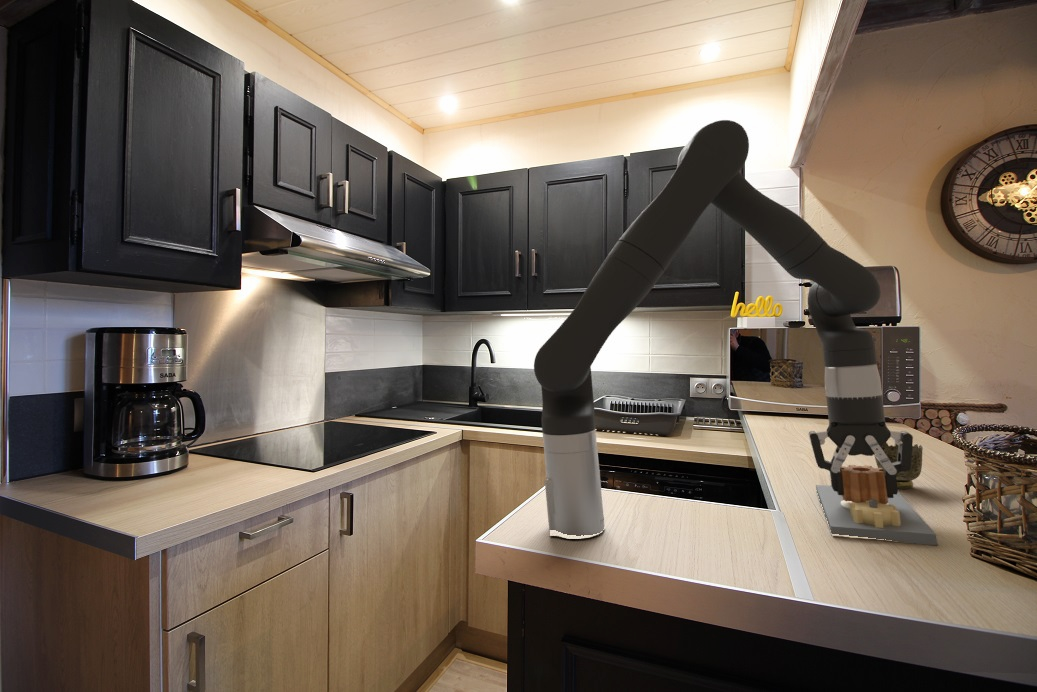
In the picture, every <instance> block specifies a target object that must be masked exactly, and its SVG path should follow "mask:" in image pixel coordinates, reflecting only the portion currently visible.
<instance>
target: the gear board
mask: <svg viewBox="0 0 1037 692" xmlns="http://www.w3.org/2000/svg"><path fill="white" fill-rule="evenodd" d="M815 490H817V491H816V494H817V493H818V495H817V497H818V496H819V498H818V500H819V499H820V501H819V503H820V502H821V504H822V507H823V510H824V512H823V514H824V513H825V515H824V517H825V516H826V518H827V521H828V524H829V527H830V530H831V532H830V534H831V533H832V534H839V535H849V536H858V537H868V538H876V539H884V540H885V539H886V540H892V541H898V542H897V543H903V542H907V543H906V544H914V543H916V544H917V545H928V546H929V545H930V546H938V539H937V534H936V533H935V532H934V530H933V529H932V528H931V526H929V525H928V524H927V523H926V521H925V520H924V519H923V518H922V517H921V515H920V514H918V512H917V511H916V510H915V509H914V508H913V507H912V506H911V504H910V503H909V502H908V501H907V500H906V498H904V496H903V495H901V493H900V492H899V491H898V492H897V495H896V494H893V498H888V503H887V504H881V503H877V500H874V499H869V501H866V502H861V503H855V502H852V501H845V500H843V496H842V495H838V494H837V492H836V491H834V490H833V488H832V486H831V485H827V484H826V485H825V484H822V485H821V484H815ZM821 504H820V505H821ZM822 507H821V508H822ZM823 510H822V511H823ZM826 518H825V519H826ZM827 521H826V522H827ZM828 524H827V525H828ZM829 527H828V528H829ZM830 530H829V531H830ZM916 544H915V545H916Z"/></svg>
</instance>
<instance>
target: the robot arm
mask: <svg viewBox="0 0 1037 692" xmlns="http://www.w3.org/2000/svg"><path fill="white" fill-rule="evenodd" d="M749 149H750V141H749V136H748V133H747V131H746V129H745V128H744V127H743V125H741V124H740V123H738V122H736V121H734V120H730V119H729V120H728V119H722V120H716V121H714V122H711V123H708V124H706V125H704V126H703V127H701V128H700V129H699V130H697V132H695V134H694V135H693V136H692V137H691V138H690V139H689V141H688V142H687V143H686V144H685V146H683V147H682V150H681V151H680V153H679V155H678V158H677V163H676V164H677V165H676V169H675V170H674V172H673V174H672V175H671V177H670V178H669V180H668V182H667V183H666V185H665V186H664V187H663V188H662V190H661V191H660V193H659V194H658V195H657V196H656V197H655V198H654V199H653V200H652V201H651V202H650V203H649V205H647V206H646V207H645V209H643V211H642V212H641V213H639V215H638V216H637V218H635V220H634V221H632V223H631V224H630V225H629V226H628V228H627V229H626V230H625V232H624V233H623V234H622V235H621V237H619V239H618V240H617V242H616V243H615V244H614V246H613V248H612V249H611V250H610V251H609V253H608V255H607V256H606V257H605V259H604V260H603V262H602V263H601V265H600V266H599V267H598V268H599V269H597V272H596V273H595V274H594V275H593V278H592V279H591V281H590V282H589V284H588V285H587V288H586V289H585V291H584V292H583V294H582V296H581V298H580V300H579V301H578V303H577V305H576V306H575V307H574V309H573V310H572V311H571V313H570V314H569V315H568V317H567V318H566V319H564V321H563V322H562V323H561V325H560V326H559V327H558V328H557V329H556V330H555V332H553V333H552V335H551V336H550V337H549V338H548V339H547V340H546V341H545V342H544V343H543V345H541V346H540V348H539V349H538V351H537V353H536V355H535V358H534V361H533V363H534V364H533V372H534V375H535V378H536V380H537V381H538V383H539V385H540V386H541V398H542V399H541V400H542V411H541V419H540V420H541V430H542V431H541V432H542V441H543V452H544V464H545V475H546V477H545V479H544V486H545V499H546V509H547V510H546V511H547V523H548V531H549V530H556V531H558V532H561V533H563V534H567V535H576V536H581V535H583V536H584V535H593V534H597V533H600V532H601V531H603V529H604V527H605V516H604V507H603V497H602V486H601V485H602V483H601V473H600V463H599V462H600V461H599V451H598V443H597V431H596V421H595V420H596V419H595V399H594V390H593V379H592V378H593V377H592V368H591V367H592V365H593V363H594V361H595V359H596V358H597V356H598V354H599V353H600V352H601V349H602V348H603V346H604V344H605V343H606V341H607V340H608V338H610V336H611V335H612V333H614V331H615V330H616V329H617V327H618V326H619V325H620V324H621V323H622V322H624V320H625V319H626V318H627V317H628V316H629V315H630V314H631V313H632V312H633V311H634V310H635V309H636V307H638V305H640V303H641V302H642V301H643V300H644V298H646V296H647V295H648V294H649V293H650V291H652V290H653V288H654V286H655V285H656V283H658V281H659V280H660V278H661V277H662V276H663V274H664V272H666V270H667V268H668V267H669V265H670V264H671V262H672V260H673V259H674V258H675V256H676V255H677V254H678V252H679V250H680V249H681V247H682V246H683V244H684V243H685V241H686V239H688V237H689V235H690V233H691V232H692V230H693V227H694V226H695V225H696V223H697V221H698V220H699V218H700V217H701V216H702V214H703V213H704V211H705V210H706V209H707V208H708V207H709V206H710V204H712V205H714V206H715V207H716V208H717V209H719V211H721V212H722V213H724V215H726V216H727V217H728V218H730V219H731V220H733V222H734V223H736V224H737V225H738V226H740V227H741V229H743V230H744V231H745V232H746V233H748V234H749V236H751V237H752V239H754V240H755V241H756V242H757V243H758V244H759V245H760V246H761V248H763V249H764V250H765V251H766V252H767V253H768V254H769V255H770V256H771V257H772V258H773V259H774V260H775V261H776V262H777V264H779V266H781V267H782V268H783V270H784V271H785V272H786V273H787V274H789V275H790V276H791V277H793V278H794V279H798V280H806V281H807V280H808V281H811V282H813V284H811V285H810V288H809V291H808V293H807V307H808V311H809V315H810V317H811V320H812V322H813V325H814V328H815V330H816V333H817V335H818V337H819V339H820V341H821V343H822V354H823V363H824V364H823V365H824V393H825V398H826V399H825V400H826V408H827V416H828V427H827V428H826V430H824V431H822V430H821V431H814V430H811V431H809V432H808V437H809V442H810V445H811V448H812V452H813V455H814V459H815V462H816V465H817V467H818V468H820V469H823V470H827V471H828V472H829V474H830V475H829V477H830V484H831V485H830V486H832V488H833V490H834V491H836V492H837V494H838V495H843V486H842V477H841V473H840V468H841V466H843V465H844V462H845V461H846V460H847V457H848V456H851V457H852V456H854V457H855V456H859V455H862V456H867V457H868V456H869V457H873V456H874V455H875V456H876V458H877V459H878V460H879V462H880V463H881V465H882V466H883V468H884V471H885V479H886V488H887V497H888V498H893V494H896V495H897V492H899V490H898V488H897V479H896V475H897V473H899V472H902V471H909V470H910V469H911V458H912V446H913V443H914V436H913V435H912V434H911V433H910V432H908V431H906V430H901V431H896V430H890V429H889V428H888V426H887V424H886V416H885V410H884V409H885V407H884V401H883V400H884V399H883V389H882V381H881V376H880V372H879V369H878V364H877V356H876V354H877V353H876V348H875V347H876V346H875V340H874V336H873V334H872V332H870V331H869V330H867V329H863V328H858V327H857V326H856V324H855V323H854V320H853V317H852V316H851V315H854V314H855V315H856V314H862V313H865V312H867V311H870V310H872V309H873V308H875V307H876V305H877V304H878V303H879V301H880V298H881V287H880V284H879V282H878V279H877V278H876V277H875V275H874V274H873V273H872V272H871V271H870V270H869V269H868V268H867V267H865V266H864V265H862V264H861V263H859V262H858V261H856V260H855V259H852V258H851V257H849V256H848V255H847V254H845V253H843V252H841V251H840V250H837V249H835V248H834V247H832V246H830V244H828V243H827V241H826V240H825V239H823V237H822V236H821V235H820V234H819V233H818V232H817V231H816V230H815V229H814V228H813V227H812V226H811V225H810V224H809V223H808V222H807V221H806V220H805V219H803V218H802V217H801V216H800V215H799V214H797V213H795V211H793V210H791V209H790V208H787V207H786V206H784V205H782V204H780V202H779V203H778V202H777V201H775V200H774V199H771V198H770V197H768V196H766V195H765V194H764V193H762V192H761V191H759V190H758V189H757V188H755V187H754V186H753V184H751V183H750V182H749V181H748V180H747V179H746V178H745V177H744V175H743V174H742V173H741V170H742V169H743V167H744V165H745V163H746V161H747V158H748V155H749ZM827 438H829V440H831V442H832V443H834V444H835V445H836V447H835V450H834V452H833V455H832V458H831V459H830V461H828V460H825V457H824V453H823V449H822V446H823V445H824V444H825V443H826V439H827ZM890 438H892V441H893V443H894V445H896V444H897V445H898V456H897V462H894V463H891V462H890V460H889V458H888V457H887V456H886V454H885V453H884V451H883V450H882V447H883V446H884V444H885V443H888V442H887V441H888V440H890ZM875 456H874V457H875Z"/></svg>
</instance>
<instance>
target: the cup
mask: <svg viewBox="0 0 1037 692" xmlns="http://www.w3.org/2000/svg"><path fill="white" fill-rule="evenodd" d="M923 449H924V448H923V446H922V445H921V444H920V445H918V444H914V445H912V458H911V469H910V470H909V471H902V472H899V473H897V475H896V479H897V488H898V489H899V490H909V489H912V488H913V487H914V482H913V481H914V480H916V479H917V478H918V477H920V475H921V473H922V468H923ZM882 450H883V451H884V453H885V454H886V456H887V457H888V458H889V460H890V462H891V463H894V462H897V456H898V445H897V444H894V445H892V444H891V445H889V444H888V442H886V443H885V444H884V446H883V447H882ZM873 456H874V460H875V463H876V466H877V467H876V468H882V469H884V468H883V466H882V465H881V463H880V462H879V460H878V459H877V458H876V456H875V455H873Z"/></svg>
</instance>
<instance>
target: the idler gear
mask: <svg viewBox="0 0 1037 692" xmlns="http://www.w3.org/2000/svg"><path fill="white" fill-rule="evenodd" d="M840 473H841V477H842V486H843V495H842V496H843V500H845V501H852V502H855V503H861V502H866V501H869V499H874V500H877V503H881V504H887V503H888V497H887V488H886V479H885V471H884V469H882V468H878V467H873V466H872V465H866V464H865V465H857V464H848V465H847V466H845V465H844V466H843V465H842V466H841V468H840Z"/></svg>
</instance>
